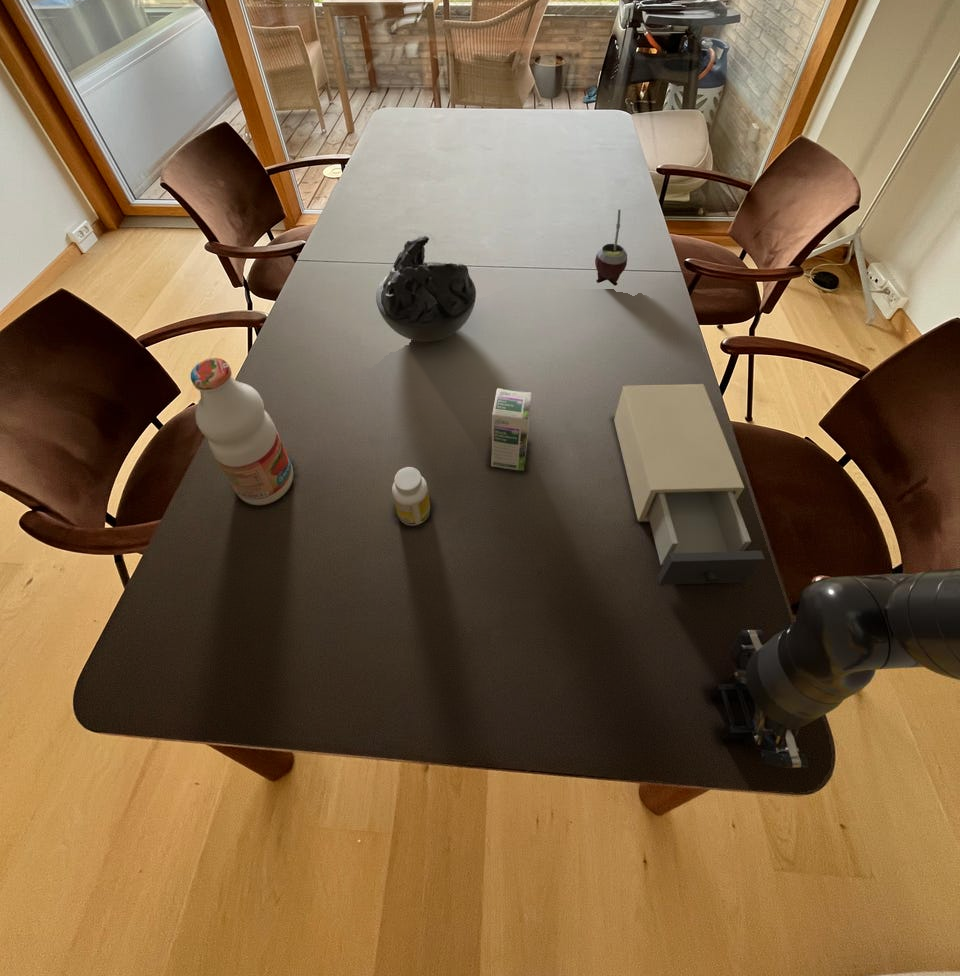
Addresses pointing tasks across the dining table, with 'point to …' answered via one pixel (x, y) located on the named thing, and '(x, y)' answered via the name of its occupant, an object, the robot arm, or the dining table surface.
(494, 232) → the dining table surface
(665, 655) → the dining table surface
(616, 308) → the dining table surface
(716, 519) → the two-tone hollow box
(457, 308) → the coal bowl
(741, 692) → the rack
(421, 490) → the supplement bottle
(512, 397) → the syrup box
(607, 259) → the mate gourd
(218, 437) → the fruit juice
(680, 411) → the cream drawer box
